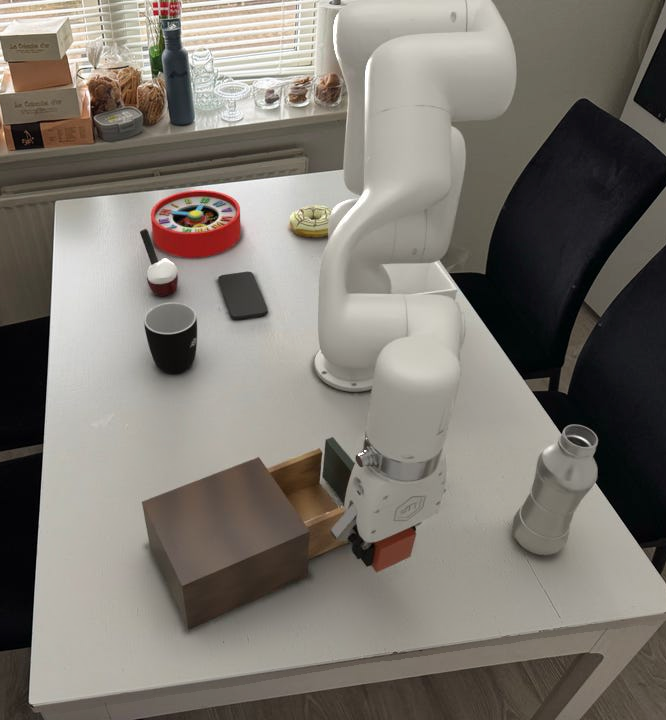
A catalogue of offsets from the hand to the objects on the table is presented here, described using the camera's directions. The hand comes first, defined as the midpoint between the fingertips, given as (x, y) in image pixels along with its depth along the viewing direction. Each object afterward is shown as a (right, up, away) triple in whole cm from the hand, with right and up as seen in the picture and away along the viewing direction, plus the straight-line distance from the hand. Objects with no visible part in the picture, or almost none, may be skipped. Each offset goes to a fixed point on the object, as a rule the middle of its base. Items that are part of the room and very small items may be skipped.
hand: (381, 546), depth 82 cm
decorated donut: (+5, +52, +74) cm, 90 cm away
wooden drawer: (-5, 0, +13) cm, 14 cm away
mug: (-25, +22, +43) cm, 54 cm away
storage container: (+16, +33, +50) cm, 62 cm away
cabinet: (-18, -5, +10) cm, 21 cm away
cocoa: (-28, +36, +59) cm, 75 cm away
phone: (-12, +35, +55) cm, 66 cm away
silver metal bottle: (+23, -2, +9) cm, 25 cm away
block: (0, 0, 0) cm, 0 cm away
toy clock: (-21, +51, +75) cm, 93 cm away
